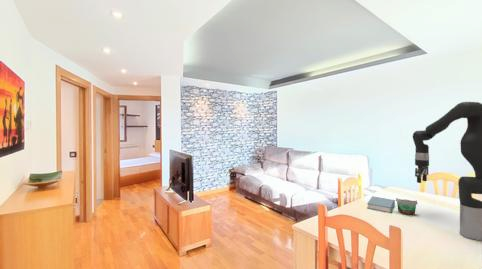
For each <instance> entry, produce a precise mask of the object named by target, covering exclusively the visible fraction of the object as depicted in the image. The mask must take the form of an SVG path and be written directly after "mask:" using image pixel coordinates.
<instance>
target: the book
mask: <svg viewBox="0 0 482 269" xmlns="http://www.w3.org/2000/svg"><path fill="white" fill-rule="evenodd" d="M395 206H396V199H391V198H384V197H380V196H379V197H377V196H374V195H373V196H371V197H370V199H369V200H368V202H367V210H368V209H369V210H373V211H379V212H384V213H388V214H393V210H394V208H395Z"/></svg>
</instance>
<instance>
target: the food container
mask: <svg viewBox="0 0 482 269" xmlns="http://www.w3.org/2000/svg"><path fill="white" fill-rule="evenodd" d="M395 202H396V205H397V211H398V213H399V212H400V213H399V214H402V215H404V214H405V215H404V216H415V214H416V209H417V208H416V207H417V205H418V201H417V199H416V200H410V199H402V198H401V199H400V198H398V197H396V198H395Z"/></svg>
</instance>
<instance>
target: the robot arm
mask: <svg viewBox="0 0 482 269" xmlns="http://www.w3.org/2000/svg"><path fill="white" fill-rule="evenodd" d="M461 119H466V120H467V127H466V130H465V132H464V133H463V135H462V137H461V140H460V152H461V155H462V157H463V158H464V159H465V160H466V161H467V162H468V163H469V165H471V167H472V169H473V171H474V175H475V176H460V177H459V179H458V184H457V185H458V198H459V234H460V235H461V236H463V237H464V238H466V239H471V240H476V241H478V242H479V241H480V242H482V201H481V200H480V199H477V198H474V197H473V196H472V195H482V103H481V102H478V101H463V102H462V101H461V102H459V103H457V104H456V105H454V107H453V108H451V109H449V111H447V113H445V114H444V115H443V116H441V117H440V118H439V119H438V120H436V121H434V122H432V123H430V124H428V125H427V126H426V127H425V129H424V130H416V131H414V132H413V133H412V139H413V143H414V145H415V146H414V147H415V153H414V165H415V166H417V167H415V171H414V172H415V173H414V177H416V183H418V184H421V183H422V181H423V182H427V181H428V178H427V177H428V175H429V167H430V150H429V149H430V147H429V144H426V143H424V142H425V141H429V140H431V139H433V138H434V137H435V136H436V135H437V134H440V133H441V132H444V131H445V130H447V129H448V128H449V126H451V124H452V123H453V122H455V121H458V120H461Z"/></svg>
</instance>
